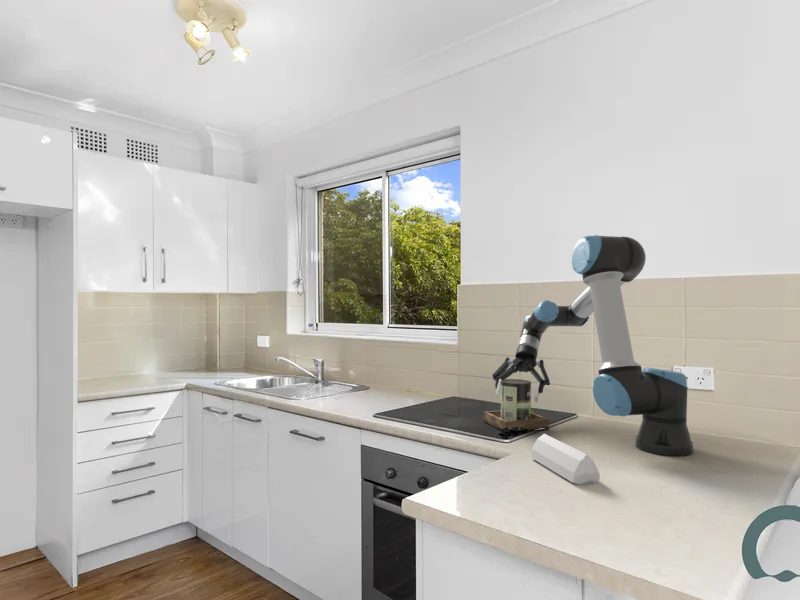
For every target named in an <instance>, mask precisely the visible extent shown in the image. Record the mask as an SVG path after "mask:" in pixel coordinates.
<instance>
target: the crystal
mask: <svg viewBox="0 0 800 600" xmlns="http://www.w3.org/2000/svg"><path fill="white" fill-rule="evenodd" d="M531 459H533V460H534V461H536V462H538V463H539V464H541V465H542V466H544V467H546V468H547V469H548V470H551V471H552V472H554V473H556V474H557V475H559V476H561V478H564V479H566V480H567V481H569V482H571V483H573V484H576V485H578V484H580V485H588V484H587V483H591V484H596V483H598V482H599V481H600V477H601V475H600V472H599V471H600V470H599V469H598V467H597V465H596V464H595V461H594V460H593V459H592V458H591V457H590V456H589V455H587V453H584V452H583V451H581V450H579V449H576V448H574V447H572V446H570V445H568V444H567V443H565V442H562V441H560V440H558V439H556V438H554V437H553V436H550V435H548V434H546V433H543V434H541V435H540V436H539V437H537V438H536V441H535V442H534V444H533V446H532V448H531Z"/></svg>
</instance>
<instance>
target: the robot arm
mask: <svg viewBox="0 0 800 600" xmlns="http://www.w3.org/2000/svg"><path fill="white" fill-rule="evenodd" d="M645 265H646V252H645V249H644V247H643V245H642V244H641V243H640V242H639V241H638V240H636V239H634V238H632V237H629V236H610V235H609V236H606V235H598V234H596V235H586V236H583V237H581V238H580V239H579V240H578V241H577V242H576V244H575V245H574V249H573V250H572V254H571V266H572V269H573V271H574V272H575V273H576V274H578V275H582V282H583V283H584V284H585V285H587V287H586V289H584V291H583V292H582V293H580V294H579V296H578V297H577V298H575V300H574V301H572V303H571V304H570V305H557V304H556V303H555V302H553V301H551V300H543V301H541V302H540V303H539V304H538V305H537V306H536V307H535V308H534V311H532V313H531V314H528V315H526V317H525V318H524V321H523V323H522V329H521V332H520V336H519V337H520V338H519V340H518V344H517V349H516V352H515V357H514V359H510V357H508V356H507V357H506V358H505V360H504V362H503V363H502V364H501V365H500V366H499V367H498V368H497V369H496V370H495V372H494V373H493V374H492V375H491V377H492V379H493V381H495V384H494V387H495V397H496V398H497V399H500V397H501V383H500V381H501V380H506V379H508V378H509V377H510V376H512V375H513V374H516V373H518V372H519V373H528V372H530V374H531V375H532V376H533V377H534V378H535V379H536V382H537V383H536V387H535V391H534V392H535V393H534V397H533V398H534V401H535V403H538V402H539V397H540V394H543V392H544V389H545V388H544V387H545V386H550V384H551V383H550V378H549V376H548V373H547V371H546V368H545V362H544V360H543V359H540V360H539V361H537V357H538V353H539V348H540V345H541V344H540V343H541V341H542V340H541V339H542V336H543V334H544V333H545V331H546V330H547V329H548V328H549V327H578V326H579V327H584V326H583V325H584V324H585V323H586V322H587V321H588V319H589V315H591V314H593V313H594V319H595V320H594V321H595V326H596V327H595V328H596V332H597V340H598V344H599V351H600V355H601V356H600V357H601V361H602V365H600V367H599V369H598V370H597V371H598V375H597V376H596V377H595V378H594V380H593V384H592V393H593V394H592V395H593V397H594V401H595V403H596V405H597V406H598V407H599V409H600V410H602V412H603V413H605V414H607V415H608V416H614V417H615V416H616V417H617V416H618V417H626V416H640V415H641V416H642V418H641V423H640V426H639V430H638V433H637V435H636V436H635V447H636V448H637V449H639V450H641V451H645V452H647V453H651V454H655V453H656V454H657V455H661V454H663V455H664V456H670V455H684V456H689V455H688V454H690V455H692V454H693V453H694V442H693V441H692V439H691V435H690V432H689V428H688V425H687V421H688V420H687V419H688V418H687V415H688V413H687V412H688V409H687V408H688V389H689V388H688V380H687V376H686V375H685V374H684V373H683V372H679V371H674V370H668V369H660V368H655V367H654V368H653V367H644V368H642V365H641V364H639V363H638V362H636V361H635V357H634V353H633V347H632V342H631V337H630V332H629V326H628V321H627V314H626V310H625V305H624V304H625V303H624V300H623V294H622V289H621V288H622V286H623V285H624V284H625V283H630V282H632V281H633V280H635V278H636V277H638V275H640V274H641V272H642V271H643V269H644V266H645ZM536 366H538V368H539V370H540V372H541V374H542V376H543V378H542V376H541V375H540V374H539V372H537V370H536V369H535V367H536ZM691 453H692V454H691ZM656 454H655V455H656Z"/></svg>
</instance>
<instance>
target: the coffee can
mask: <svg viewBox="0 0 800 600" xmlns="http://www.w3.org/2000/svg"><path fill="white" fill-rule="evenodd" d="M500 383H501V393H500V411H501V419H503V420H506V421H515V420H529V419H531V412H532V410H531V409H532V407H531V406H532V403H531V399H532V397H531V396H532V393H531V392H532V388H531V387H532V381H530V380H526V379H516V378H515V379H514V378H509V379H508V378H506V379H505V380H501V381H500Z"/></svg>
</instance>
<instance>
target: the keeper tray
mask: <svg viewBox="0 0 800 600" xmlns="http://www.w3.org/2000/svg"><path fill="white" fill-rule="evenodd" d="M482 415H483V421H484V422H483V423H485V422H486V424H487V423H488V425H489V424H490V426H491V425H492V427H493V426H494V427H493V428H495V427H496V428H495V429H497V428H499V429H503V428H506V427H508V428H513V427H518V428H522V429H528V430H532V429H539V428H545V430H546V431H549V423H550V421H549V418H548V417H545V416H542V415H540V414H537V413H535V412H532V411H531V419H529V420H515V421H506V420H503V419H501V410H488V411H487V410H485V411H483V413H482ZM499 429H498V430H499ZM545 430H544V431H545Z"/></svg>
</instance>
